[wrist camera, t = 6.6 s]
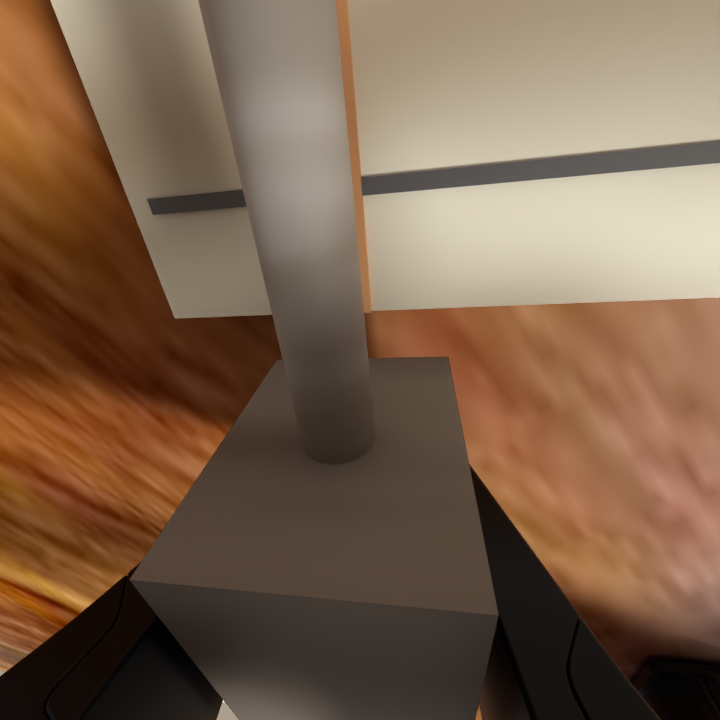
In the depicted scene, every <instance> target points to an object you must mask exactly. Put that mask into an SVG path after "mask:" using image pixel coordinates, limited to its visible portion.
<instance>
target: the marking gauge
mask: <svg viewBox="0 0 720 720" xmlns="http://www.w3.org/2000/svg"><path fill="white" fill-rule="evenodd" d="M198 2H199V6H200V10H201V15H202V19H203V23H204V27H205V32H206V36H207V40H208V44H209V49H210V53H211V57H212V61H213V66H214V70H215V74H216V78H217V83H218V87H219V91H220V95H221V100H222V104H223V108H224V112H225V117H226V121H227V125H228V129H229V134H230V138H231V142H232V146H233V151H234V155H235V159H236V163H237V168H238V172H239V176H240V180H241V185H242V189H243V193H244V197H245V202H246V206H247V210H248V214H249V219H250V223H251V227H252V231H253V236H254V240H255V244H256V248H257V253H258V257H259V261H260V265H261V270H262V274H263V278H264V282H265V287H266V291H267V295H268V299H269V304H270V308H271V312H272V316H273V321H274V325H275V329H276V333H277V338H278V342H279V346H280V350H281V355H282V359H283V360H276V362H275V363H274V365H273V366H272V368H271V369H270V371H269V372H268V374H267V375H266V377H265V378H264V380H263V381H262V383H261V384H260V386H259V387H258V389H257V390H256V392H255V393H254V395H253V396H252V398H251V399H250V401H249V402H248V404H247V405H246V407H245V408H244V409H243V411H242V412H241V414H240V415H239V417H238V418H237V420H236V421H235V423H234V424H233V426H232V427H231V429H230V430H229V432H228V433H227V435H226V436H225V438H224V439H223V441H222V442H221V444H220V445H219V447H218V448H217V450H216V451H215V453H214V454H213V456H212V457H211V459H210V460H209V462H208V463H207V465H206V466H205V468H204V469H203V471H202V472H201V474H200V475H199V477H198V478H197V480H196V481H195V483H194V484H193V486H192V487H191V489H190V490H189V492H188V493H187V495H186V496H185V497H184V499H183V500H182V502H181V503H180V505H179V506H178V508H177V509H176V511H175V512H174V514H173V515H172V517H171V518H170V520H169V521H168V523H167V524H166V526H165V527H164V529H163V530H162V532H161V533H160V535H159V536H158V538H157V539H156V541H155V542H154V544H153V545H152V547H151V548H150V550H149V551H148V553H147V554H146V556H145V557H144V559H143V560H142V562H141V563H140V565H139V566H138V568H137V569H136V571H135V572H134V574H133V575H132V577H131V578H130V581H131V582H132V584H133V585H134V586H135V588H136V589H137V590H138V591H139V593H140V594H141V595H142V597H143V598H144V599H145V600H146V602H147V603H148V604H149V605H150V607H151V608H152V609H153V611H154V612H155V613H156V614H157V616H158V617H159V618H160V620H161V621H162V622H163V623H164V625H165V626H166V627H167V628H168V630H169V631H170V632H171V634H172V635H173V636H174V637H175V639H176V640H177V641H178V643H179V644H180V645H181V646H182V648H183V649H184V650H185V651H186V653H187V654H188V655H189V657H190V658H191V659H192V660H193V662H194V663H195V664H196V666H197V667H198V668H199V669H200V671H201V672H202V673H203V674H204V676H205V677H206V678H207V680H208V681H209V682H210V683H211V685H212V686H213V687H214V689H215V690H216V691H217V692H218V694H219V695H220V696H221V697H222V699H223V700H224V701H225V703H226V704H227V705H228V706H229V708H230V709H231V710H232V712H233V713H234V714H235V715H236V717H237V718H238V719H239V720H475V718H476V714H477V709H478V705H479V700H480V696H481V692H482V687H483V683H484V678H485V674H486V669H487V665H488V660H489V656H490V651H491V647H492V642H493V638H494V633H495V629H496V624H497V620H498V616H499V615H498V610H497V605H496V600H495V594H494V589H493V584H492V579H491V574H490V569H489V564H488V558H487V553H486V548H485V543H484V538H483V533H482V528H481V522H480V517H479V512H478V507H477V502H476V497H475V491H474V486H473V481H472V476H471V471H470V466H469V461H468V455H467V450H466V445H465V440H464V435H463V430H462V425H461V419H460V414H459V409H458V404H457V399H456V394H455V389H454V383H453V378H452V373H451V368H450V363H449V358H448V357H410V358H368V349H367V338H366V327H365V316H364V306H363V295H362V284H361V273H360V262H359V251H358V240H357V229H356V218H355V207H354V196H353V185H352V174H351V163H350V152H349V141H348V130H347V119H346V108H345V97H344V86H343V75H342V64H341V53H340V42H339V31H338V20H337V9H336V0H198Z"/></svg>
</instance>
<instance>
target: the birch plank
mask: <svg viewBox="0 0 720 720" xmlns="http://www.w3.org/2000/svg"><path fill="white" fill-rule="evenodd" d="M50 1H51V3H52V6H53V8H54V11H55V13H56V16H57V19H58V21H59V24H60V26H61V29H62V31H63V34H64V36H65V39H66V42H67V44H68V47H69V49H70V52H71V54H72V57H73V59H74V62H75V65H76V67H77V70H78V72H79V75H80V77H81V80H82V83H83V85H84V88H85V90H86V93H87V95H88V98H89V100H90V103H91V106H92V108H93V111H94V113H95V116H96V118H97V121H98V123H99V126H100V129H101V131H102V134H103V136H104V139H105V141H106V144H107V146H108V149H109V152H110V154H111V157H112V159H113V162H114V164H115V167H116V170H117V172H118V175H119V177H120V180H121V182H122V185H123V187H124V190H125V193H126V195H127V198H128V200H129V203H130V205H131V208H132V210H133V213H134V216H135V218H136V221H137V223H138V226H139V228H140V231H141V233H142V236H143V239H144V241H145V244H146V246H147V249H148V251H149V254H150V257H151V259H152V262H153V264H154V267H155V269H156V272H157V274H158V277H159V280H160V282H161V285H162V287H163V290H164V292H165V295H166V297H167V300H168V303H169V305H170V308H171V310H172V313H173V315H174V318H175V319H177V318H202V317H228V316H254V315H272V312H271V308H270V304H269V299H268V295H267V291H266V287H265V282H264V278H263V274H262V270H261V265H260V261H259V257H258V253H257V248H256V244H255V240H254V236H253V231H252V227H251V223H250V219H249V214H248V210H247V206H246V202H245V197H244V193H243V189H242V185H241V180H240V176H239V172H238V168H237V163H236V159H235V155H234V151H233V146H232V142H231V138H230V134H229V129H228V125H227V121H226V117H225V112H224V108H223V104H222V100H221V95H220V91H219V87H218V83H217V78H216V74H215V70H214V66H213V61H212V57H211V53H210V49H209V44H208V40H207V36H206V32H205V27H204V23H203V19H202V15H201V10H200V6H199V2H198V0H50ZM336 9H337V20H338V31H339V42H340V53H341V64H342V75H343V86H344V97H345V108H346V119H347V130H348V141H349V152H350V163H351V174H352V185H353V196H354V207H355V218H356V229H357V240H358V251H359V262H360V273H361V284H362V295H363V306H364V313H372V311H383V310H408V309H434V308H460V307H485V306H511V305H537V304H563V303H588V302H614V301H640V300H666V299H691V298H717V297H720V0H336Z"/></svg>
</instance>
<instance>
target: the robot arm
mask: <svg viewBox="0 0 720 720" xmlns="http://www.w3.org/2000/svg"><path fill="white" fill-rule="evenodd" d="M469 466H470V464H469ZM470 471H471V476H472V481H473V486H474V491H475V497H476V502H477V507H478V512H479V517H480V522H481V528H482V533H483V538H484V543H485V548H486V553H487V558H488V564H489V569H490V574H491V579H492V584H493V589H494V594H495V600H496V605H497V610H498V615H499V616H498V620H497V624H496V629H495V633H494V638H493V642H492V647H491V651H490V656H489V660H488V665H487V669H486V674H485V678H484V683H483V687H482V692H481V696H480V700H479V705H480V710H481V716H482V720H720V666H711V665H702V664H692V663H683V662H673V661H664V660H655V661H651V662H649V663H647V664H646V666H645V667H644V668H643V670H642V671H641V672H640V673H639V675H638V676H637V677H636V679H635V680H634V681H633V682H632V684H631V682H630V681H629V680H628V679H627V677H626V676H625V675H624V673H623V672H622V671H621V669H620V668H619V667H618V665H617V664H616V663H615V662H614V660H613V659H612V658H611V656H610V655H609V654H608V652H607V651H606V650H605V648H604V647H603V646H602V644H601V643H600V642H599V640H598V639H597V638H596V636H595V635H594V633H593V632H592V631H591V629H590V628H589V627H588V625H587V624H586V622H585V621H584V620H583V619H579V613H578V612H577V611H576V609H575V608H574V606H573V605H572V604H571V602H570V601H569V600H568V598H567V597H566V595H565V594H564V593H563V591H562V590H561V589H560V587H559V586H558V585H557V583H556V582H555V580H554V579H553V578H552V576H551V575H550V574H549V572H548V571H547V570H546V568H545V567H544V565H543V564H542V563H541V561H540V560H539V559H538V557H537V556H536V554H535V553H534V552H533V550H532V549H531V548H530V546H529V545H528V544H527V542H526V541H525V539H524V538H523V537H522V535H521V534H520V533H519V531H518V530H517V529H516V527H515V526H514V524H513V523H512V522H511V520H510V519H509V518H508V516H507V515H506V513H505V512H504V511H503V509H502V508H501V507H500V505H499V504H498V503H497V501H496V500H495V498H494V497H493V496H492V494H491V493H490V492H489V490H488V489H487V487H486V486H485V485H484V483H483V482H482V481H481V479H480V478H479V477H478V475H477V474H476V472H475V471H474V470H473V468H472V467H471V466H470ZM141 562H142V561H141ZM141 562H140V563H141ZM140 563H139V564H138V565H137V566H135V567H134V568H133V569H132V570H131V571H130V572H129V573H128V576H124V577H123V578H121V579H120V580H119V581H118V582H117V583H116V584H115V585H113V586H112V587H111V588H110V589H109V590H108V591H106V592H105V593H104V594H103V595H102V596H101V597H99V598H98V599H97V600H96V601H95V602H93V603H92V604H91V605H90V606H89V607H87V608H86V609H85V610H84V611H83V612H81V613H80V614H79V615H78V616H77V617H75V618H74V619H73V620H72V621H70V622H69V623H68V624H67V625H65V626H64V627H63V628H62V629H60V630H59V631H58V632H57V633H55V634H54V635H53V636H52V637H50V638H49V639H48V640H46V641H45V642H44V643H43V644H41V645H40V646H39V647H38V648H36V649H35V650H34V651H32V652H31V653H30V654H28V655H27V656H26V657H25V658H23V659H22V660H21V661H19V662H18V663H17V664H16V665H14V666H13V667H12V668H10V669H9V670H8V671H6V672H5V673H4V674H3V675H1V676H0V720H216V719H217V716H218V713H219V710H220V707H221V704H222V701H223V699H222V697H221V696H220V695H219V694H218V692H217V691H216V690H215V689H214V687H213V686H212V685H211V683H210V682H209V681H208V680H207V678H206V677H205V676H204V674H203V673H202V672H201V671H200V669H199V668H198V667H197V666H196V664H195V663H194V662H193V660H192V659H191V658H190V657H189V655H188V654H187V653H186V651H185V650H184V649H183V648H182V646H181V645H180V644H179V643H178V641H177V640H176V639H175V637H174V636H173V635H172V634H171V632H170V631H169V630H168V628H167V627H166V626H165V625H164V623H163V622H162V621H161V620H160V618H159V617H158V616H157V614H156V613H155V612H154V611H153V609H152V608H151V607H150V605H149V604H148V603H147V602H146V600H145V599H144V598H143V597H142V595H141V594H140V593H139V591H138V590H137V589H136V588H135V586H134V585H133V584H132V582H131V581H130V578H131V577H132V575H133V574H134V572H135V571H136V569H137V568H138V566H139V565H140ZM578 619H579V620H578Z"/></svg>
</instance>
